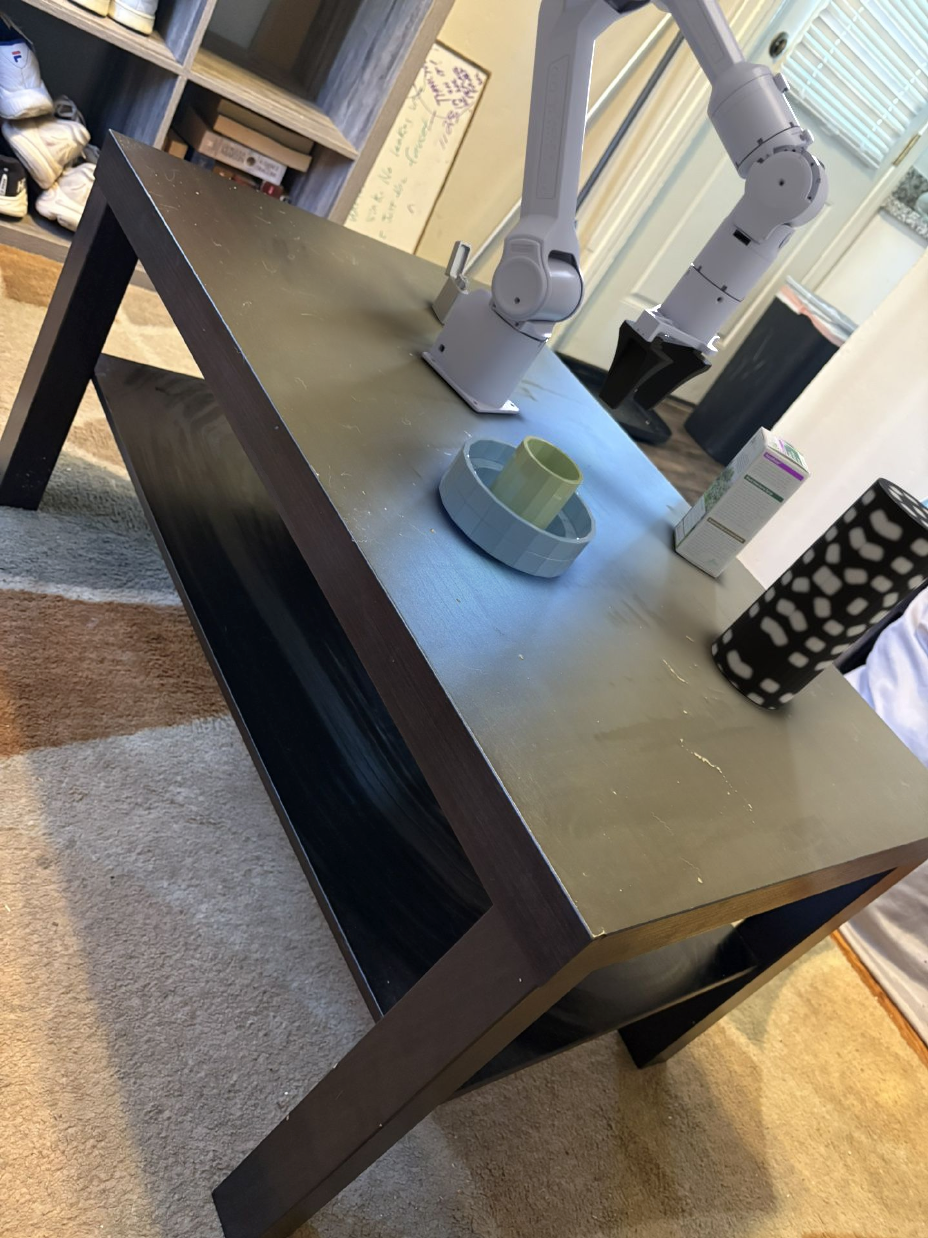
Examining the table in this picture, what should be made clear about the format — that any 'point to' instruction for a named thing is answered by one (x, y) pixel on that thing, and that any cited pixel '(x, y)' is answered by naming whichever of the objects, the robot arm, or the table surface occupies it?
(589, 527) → the bowl
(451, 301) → the lighter
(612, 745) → the table surface
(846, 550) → the spotted tube
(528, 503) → the cup
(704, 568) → the syrup box
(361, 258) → the table surface
